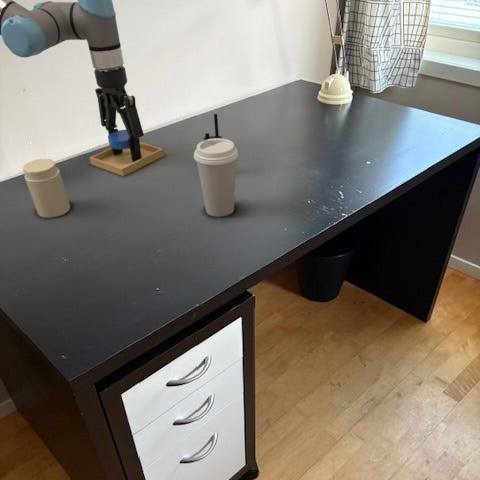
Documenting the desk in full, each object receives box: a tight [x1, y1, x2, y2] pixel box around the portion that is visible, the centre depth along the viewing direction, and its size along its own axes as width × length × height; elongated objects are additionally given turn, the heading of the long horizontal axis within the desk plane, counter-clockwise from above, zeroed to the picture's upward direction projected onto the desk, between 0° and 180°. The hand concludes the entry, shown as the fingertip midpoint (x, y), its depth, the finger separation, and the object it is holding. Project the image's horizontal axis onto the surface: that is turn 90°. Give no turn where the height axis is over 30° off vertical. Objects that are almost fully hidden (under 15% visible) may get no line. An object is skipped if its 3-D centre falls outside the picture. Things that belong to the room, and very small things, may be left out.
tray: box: [89, 141, 165, 177], centre depth 131 cm, size 13×15×2 cm
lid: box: [107, 129, 141, 149], centre depth 128 cm, size 8×8×2 cm
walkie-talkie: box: [202, 113, 223, 141], centre depth 119 cm, size 5×3×15 cm
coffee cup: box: [193, 138, 239, 218], centre depth 105 cm, size 10×10×15 cm
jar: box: [22, 158, 71, 219], centre depth 109 cm, size 8×8×11 cm
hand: (127, 157), depth 132 cm, fingers closed on lid, 8 cm apart
